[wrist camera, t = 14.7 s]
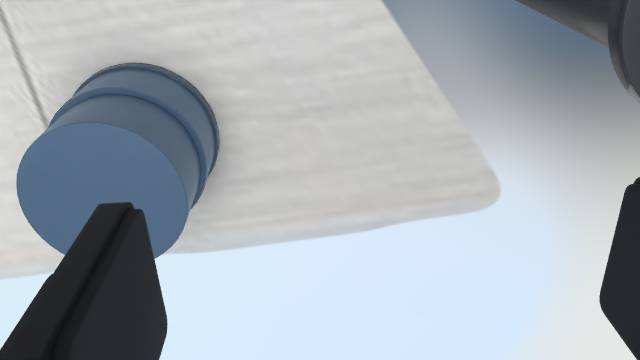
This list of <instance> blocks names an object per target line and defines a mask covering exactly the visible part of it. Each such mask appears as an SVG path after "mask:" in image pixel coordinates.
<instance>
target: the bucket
mask: <svg viewBox="0 0 640 360" xmlns="http://www.w3.org/2000/svg"><path fill="white" fill-rule="evenodd" d="M218 149H219V132H218V127H217V122H216V120H215V117H214V114H213V112H212V110H211V108H210V106H209V105H208V103H207V102H206V100H205V99H204V97H203V96H202V95H201V94H200V93H199V91H198V90H197V89H196V88H195V87H193V86H192V85H191V84H190V83H189V82H188V81H186V80H185V79H183V78H182V77H180V76H179V75H177V74H175V73H173V72H171V71H169V70H166V69H164V68H161V67H158V66H154V65H150V64H143V63H126V64H118V65H115V66H111V67H108V68H106V69H103V70H101V71H99V72H97V73H96V74H94V75H93V76H91V77H90V78H89V79H88V80H86V81H85V82H84V83H83V84H82V85H81V86H80V87H79V88H78V90H77V91H76V92H75V94H74V95H73V97H72V98H71V99H70V100H69V101H67V102H66V103H65V104H64V105H63V106H62V107H61V108H60V109H59V110H58V112H57V113H56V114H55V116H54V117H53V119H52V120H51V122H50V125H49V127H48V129H47V130H46V131H45V132H44V133H43V134H42V135H41V136H40V137H39V138H38V139H36V140H35V141H34V142H33V144H32V145H31V146H30V147H29V148H28V149H27V151H26V153H25V154H24V156H23V158H22V160H21V162H20V165H19V169H18V173H17V195H18V199H19V202H20V206H21V208H22V210H23V213H24V215H25V217H26V218H27V220H28V222H29V223H30V225H31V226H32V227H33V229H34V230H35V231H36V232H37V233H38V234H39V236H40V237H41V238H42V239H43V240H45V241H46V242H47V243H48V244H49V245H50V246H52V247H53V248H55V249H56V250H58V251H59V252H61V253H63V254H65V255H66V253H67V252H68V250H69V249H70V247H71V246H72V244H73V243H74V241H75V239H76V238H77V236H78V235H79V233H80V232H81V230H82V229H83V227H84V226H85V224H86V222H87V221H88V219H89V218H90V216H91V215H92V213H93V212H94V210H95V209H96V207H97V206H98V205H99V204H101V203H120V202H131V203H132V204H133V206H134V208H135V209H142V210H143V212H144V215H145V219H146V223H147V228H148V232H149V237H150V242H151V246H152V251H153V255H154V259H155V258H157V257H159V256H160V255H162V254H163V253H164V252H166V251H167V250H168V249H169V248H170V247H171V246H172V245H173V244H174V243H175V242H176V241H177V239H178V238H179V236H180V234H181V233H182V231H183V228H184V226H185V223H186V220H187V217H188V215H189V212H190V210H191V209H192V208H193V206H194V205H195V204H196V203H197V201H198V199H199V198H200V196H201V194H202V191H203V189H204V186H205V183H206V180H207V177H208V176H209V174H210V173H211V171H212V169H213V166H214V164H215V161H216V158H217V154H218Z"/></svg>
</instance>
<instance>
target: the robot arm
mask: <svg viewBox="0 0 640 360" xmlns="http://www.w3.org/2000/svg"><path fill="white" fill-rule="evenodd" d="M600 305H601V309H602V311H603V313H604V314H605V316H606V317H607V318H608V320H609V321H610V323H611V324H612V326H613V327H614V328H615V330H616V331H617V332H618V334H619V335H620V337H621V338H622V339H623V341H624V342H625V344H626V345H627V346H628V348H629V349H630V350H631V352H632V353H633V355H634V356H635V357H636V358H637V360H640V177H639V178H637V179H636V181H635V182H634V184H631V185H629V186H628V187H627V188H626V190H625V193H624V197H623V201H622V205H621V210H620V214H619V218H618V221H617V226H616V230H615V234H614V238H613V242H612V246H611V250H610V255H609V259H608V263H607V266H606V271H605V275H604V279H603V283H602V287H601V291H600ZM166 334H167V315H166V311H165V306H164V302H163V297H162V292H161V288H160V283H159V279H158V274H157V269H156V265H155V260H154V255H153V251H152V246H151V242H150V237H149V232H148V228H147V223H146V219H145V215H144V212H143V210H142V209H135V208H134V206H133V204H132V203H131V202H120V203H101V204H99V205H98V206H97V207H96V209H95V210H94V212H93V213H92V215H91V216H90V218H89V219H88V221H87V222H86V224H85V226H84V227H83V229H82V230H81V232H80V233H79V235H78V236H77V238H76V239H75V241H74V243H73V244H72V246H71V247H70V249H69V250H68V252H67V253H66V255H65V256H64V258H63V260H62V261H61V263H60V264H59V266H58V267H57V269H56V270H55V272H54V273H53V274H51V275H50V276H49V277H48V279H47V280H46V281H45V283H44V284H43V286H42V287H41V289H40V290H39V292H38V294H37V295H36V296H35V298H34V299H33V301H32V302H31V304H30V305H29V307H28V309H27V310H26V312H25V313H24V315H23V316H22V318H21V319H20V321H19V322H18V324H17V325H16V327H15V328H14V330H13V331H12V333H11V334H10V336H9V338H8V339H7V341H6V342H5V344H4V345H3V347H2V348H1V350H0V360H159V358H160V355H161V351H162V348H163V344H164V341H165V338H166Z"/></svg>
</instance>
